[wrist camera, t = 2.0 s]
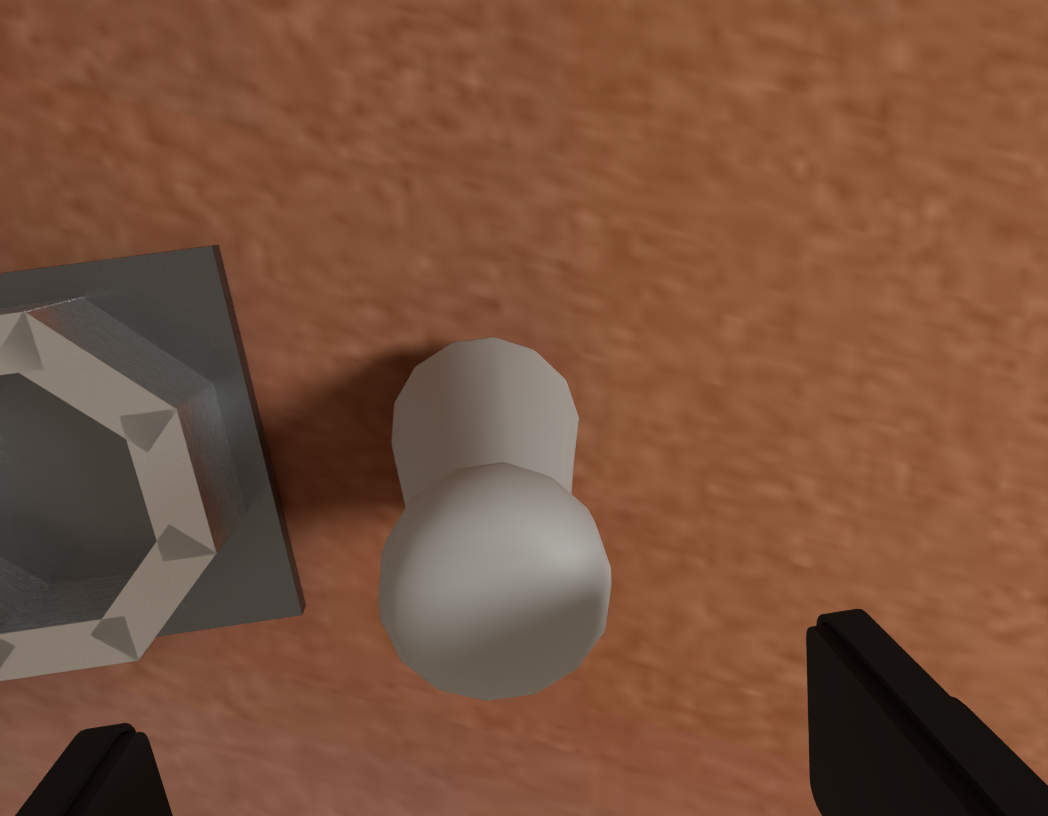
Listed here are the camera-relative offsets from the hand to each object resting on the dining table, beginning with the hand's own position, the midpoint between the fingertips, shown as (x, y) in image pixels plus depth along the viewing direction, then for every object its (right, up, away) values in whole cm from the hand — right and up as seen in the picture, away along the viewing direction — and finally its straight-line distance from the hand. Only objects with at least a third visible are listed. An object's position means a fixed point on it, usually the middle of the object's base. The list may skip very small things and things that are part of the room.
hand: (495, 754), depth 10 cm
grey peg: (-1, +5, +15) cm, 16 cm away
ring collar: (-15, +3, +14) cm, 21 cm away
